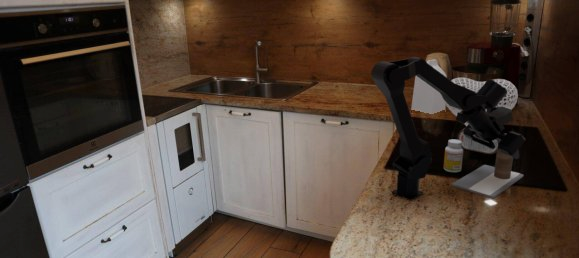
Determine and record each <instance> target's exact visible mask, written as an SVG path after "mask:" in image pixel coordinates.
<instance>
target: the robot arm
mask: <svg viewBox="0 0 579 258" xmlns="http://www.w3.org/2000/svg"><path fill="white" fill-rule="evenodd" d="M370 75H371V76H370V77H371V79H372V80H373V82H374V84H375V85H376V87H377V88H378V90H379V91H380V92H381V94H383V96H384V97H385V100H386V102H387V105H388V108H389V111H390V114H391V117H392V119H393V123H394V125H395V128H396V131H397V133H398V136H399V139H400V140H399V141H400V146H399V155H398V156H397V157H396V158H395V160H393V161H392V162H391V163H392V167H393V170H395V171H397V172H398V173H397V178H396V179H397V181H396V189H394V190H392V191H391V194H393V195H394V196H395V195H396V196H398V197H400V198H403V199H406V200H409V201H414V199H416V198H418V197H420V196H422V195H423V194H424V191H422V190H419V189H420V179H425V177H426V175H427V173H428V170H429V168H430V166H431V164H432V162H433V158H432V156H434V154H433V153H432V151H431V146H430V143H429V142H428V141H426V140H423V139H422V138H419V136H418V133H417V129H416V127H415V123H414V120H413V117H412V115H411V114H412V113H411V110H410V109H409V106H408V102H407V100H406V96H405V92H404V91H405V87H406V81H408V80H411V79H413V78H414V77H416V76H417V77H419V78H420V79H421V80H423V81H424V82H426V83H427V84H428V85H430V86H431V87H433V88H434V89H435V90H437V91H438V92H439V93H440V94H441V95H442V97H443V99H444V100H445V101H446V102H447V104H448V105H449V107H450V106H451V107H454V108H456V109H458V110H461V112H458V111H457V112H458V113H457V116H455V121H456V122H458V123H461V124H462V125H465V123H466V122H467V123H468V126H465V127H464V128H465V129H464V128H463V129H464V131H463V134H464V135H465V137H467V138H469V139H470V140H473V141H475V142H477V143H480V144H482V145H484V146H487V147H489V148H491V149H494V148H495V145H494V143H493V141H492V140H498V141H500V142H499V143H498V149H499V150H500V151H501V152H502V153H504V154H506V155H509V156H511V157H513V159H516V160H518V159H519V158H520V152H519V149H520V147H521V146H522V145H523V144H524V143H525V142H526V138H525V137H524V136H523V134H521V133H518V132H515V131H508V132H507V133H503V131H504V130H505V125H507V124H509V123H511V122H513V121H514V120H515V117H514V114H513V109H512V110H511V109H508V108H505V107H502V106H501V107H496V106H498V105H499V104H500V103H499V102H500V101H503V98H504V97H506V94H507V89H505V88H504V87H502V86H501V85H499V84H498V82H495V81H494V79H491V78H488V79H487V80H486V82H485V81H484V82H485V84H484V85H483V86H482V85H481V86H482V87H481V89H480V90H477V91H478V92H477V91H476V92H477V93H475V91H472V90H470V89H467V88H468V87H467V88H466V86H463V87H462V86H460V85H457V84H458V83H457V84H455V83H453V82H452V81H451V80H452V79H451V80H450V79H449V78H448V76H447V77H445V76H444V75H443V74H441V73H440V72H439V71H437V70H436V69H435V68H433V67H432V66H431V65H429V64H428V63H427V61H426V59H424V58H422V57H416V56H411V57H408V58H405V59H399V60H393V61H391V60H390V61H384V60H382V61H378V62H376V63H375V64H374V66H373V67H372V69H371V71H370ZM504 99H505V98H504ZM498 103H499V104H498ZM454 108H453V109H454ZM486 109H487V111H486Z"/></svg>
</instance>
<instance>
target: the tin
mask: <svg viewBox="0 0 579 258" xmlns="http://www.w3.org/2000/svg"><path fill="white" fill-rule="evenodd" d="M465 128H466V127H464V128H462V130H460V131H459V133H458V134H457V140H460V141H461V142H462V145H461V148H462V149H463V150H467V151H470V152H471V151H472V152H476V153H481V154H486V155H493V154H497V148H498V140H492V141H493V143H494V145H495V148H494V149H491V148H489V147H487V146H484V145H482V144H480V143H477V142H475V141H473V140H470V139H469V138H467V137H465V135H464V134H463V131H464V129H465Z"/></svg>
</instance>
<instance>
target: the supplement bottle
mask: <svg viewBox="0 0 579 258" xmlns="http://www.w3.org/2000/svg"><path fill="white" fill-rule="evenodd" d="M461 145H462V142H461V141H460V140H458V139H453V138H452V139H448V142H447V146H446V147H445V150H444V158H443V169H444V170H445V172H449V173H459V172H461V171H462V166H463V157H464V156H463V155H464V148H463V147H462V146H461Z"/></svg>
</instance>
